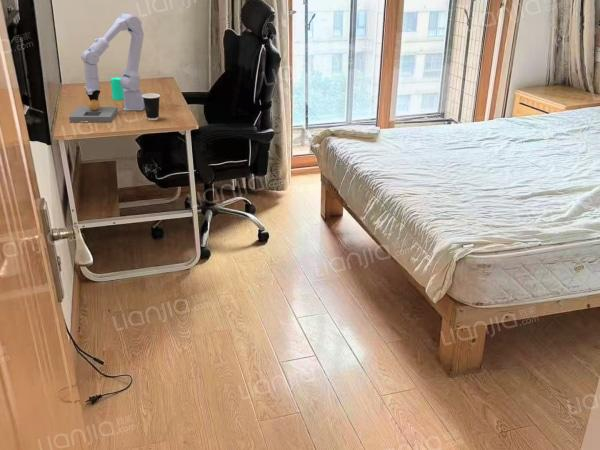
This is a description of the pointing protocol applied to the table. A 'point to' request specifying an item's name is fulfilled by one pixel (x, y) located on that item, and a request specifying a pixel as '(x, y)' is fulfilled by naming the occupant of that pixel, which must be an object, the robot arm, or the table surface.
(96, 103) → the ball
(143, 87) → the table surface
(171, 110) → the table surface
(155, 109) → the dixie cup
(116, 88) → the candle
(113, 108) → the plate
